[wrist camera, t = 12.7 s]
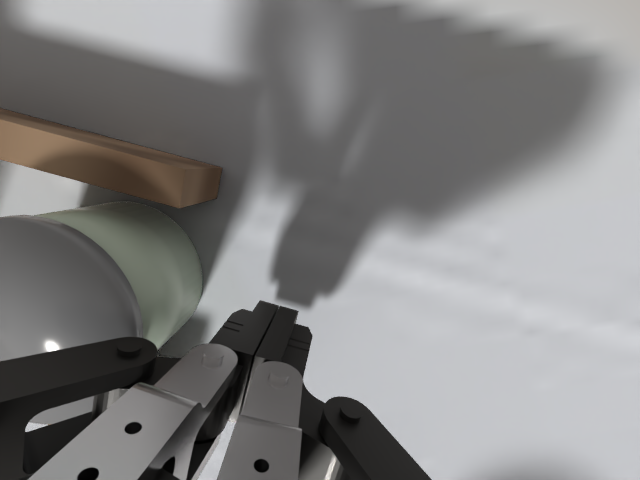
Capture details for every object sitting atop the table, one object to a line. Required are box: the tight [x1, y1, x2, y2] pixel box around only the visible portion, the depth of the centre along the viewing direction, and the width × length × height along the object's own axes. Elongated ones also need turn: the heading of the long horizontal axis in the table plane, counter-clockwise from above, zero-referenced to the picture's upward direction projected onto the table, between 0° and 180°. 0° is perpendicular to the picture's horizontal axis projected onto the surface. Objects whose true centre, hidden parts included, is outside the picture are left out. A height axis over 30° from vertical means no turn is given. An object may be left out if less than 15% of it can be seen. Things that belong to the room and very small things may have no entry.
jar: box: [0, 201, 203, 424], centre depth 12 cm, size 6×6×5 cm
